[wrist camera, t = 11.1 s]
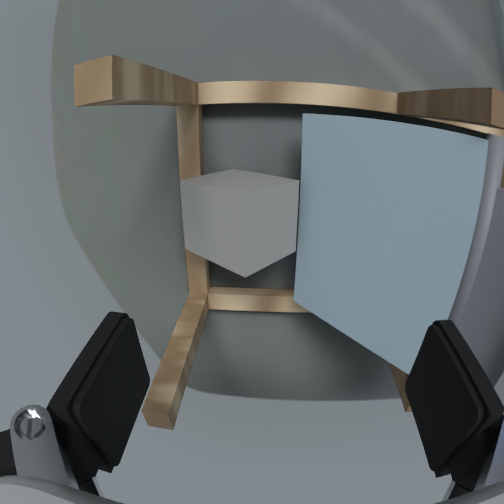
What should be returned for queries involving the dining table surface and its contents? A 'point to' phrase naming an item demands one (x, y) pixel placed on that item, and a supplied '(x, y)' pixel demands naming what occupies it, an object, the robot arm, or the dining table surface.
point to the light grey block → (240, 218)
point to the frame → (191, 165)
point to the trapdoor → (402, 235)
